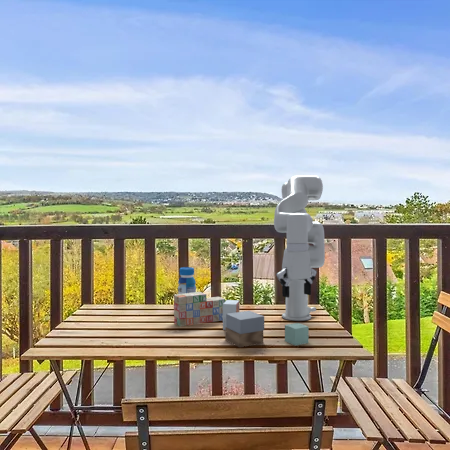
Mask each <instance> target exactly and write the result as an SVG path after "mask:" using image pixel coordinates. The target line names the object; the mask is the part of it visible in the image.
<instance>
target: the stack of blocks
mask: <svg viewBox="0 0 450 450" xmlns="http://www.w3.org/2000/svg"><path fill="white" fill-rule="evenodd" d="M225 301H226V298H224V297H221V296H213V297H211V296H210V297H207V293H204V292H202V291H196V292H193V293H185V294H178V293H177V294H176V293H175V294H173V315H174V316H173V322H174V324H175V325H177V326H178V327H185V326H193V325H200V324H201V325H202V324H206V323H212V322H219V321H222V322H223V304H224V303H225Z"/></svg>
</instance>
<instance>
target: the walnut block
mask: <svg viewBox="0 0 450 450" xmlns="http://www.w3.org/2000/svg"><path fill="white" fill-rule="evenodd" d="M224 331H225V338H224V339H225V341H227V342H228V341H229V343H230V342H231V343H230V344H232V343H233V345H234V344H235V345H234V346H236V347H238V348H244V346H245V347H248V346H249V345H250V346H255V345H254V344H256V345H258V344H259V345H260V343H261V344H264V330H262V331H256V332H250V333H244V334H239V333H237V332H235V331H233V330H231V329H229V328H227V327H225V330H224Z"/></svg>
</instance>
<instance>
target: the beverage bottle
mask: <svg viewBox="0 0 450 450" xmlns="http://www.w3.org/2000/svg"><path fill="white" fill-rule="evenodd" d="M194 275H195V268H194V267H191V266H183V267H180V268H179V276H180V277H179V279H178V283H177V284H178V286H177V290H178V292H177V294H185V293H193V292H197V286H196V283H197V282H196V278H195V277H194Z"/></svg>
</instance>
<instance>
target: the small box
mask: <svg viewBox="0 0 450 450" xmlns="http://www.w3.org/2000/svg"><path fill="white" fill-rule="evenodd" d="M236 312H240V300H238V299H237V300H233V299H225V303H224V304H223V320H222V330H223V331H225V327H226V314H229V313H236Z"/></svg>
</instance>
